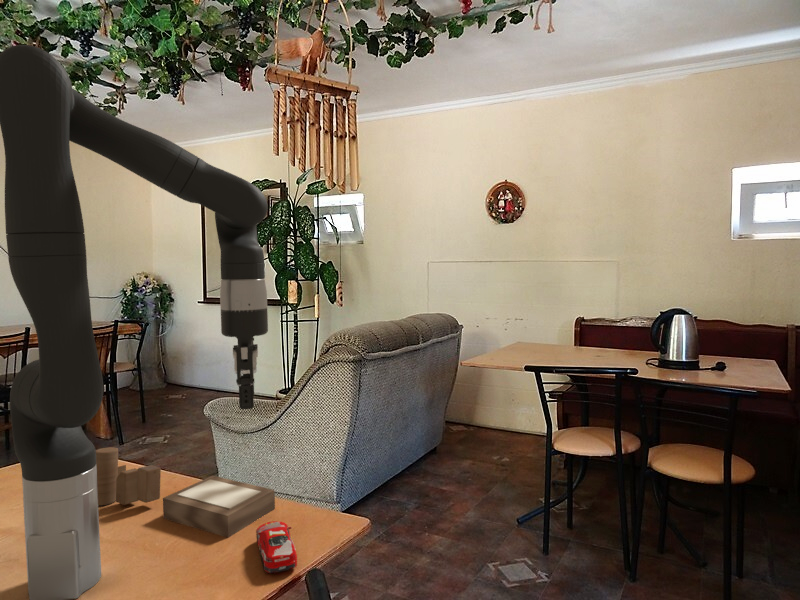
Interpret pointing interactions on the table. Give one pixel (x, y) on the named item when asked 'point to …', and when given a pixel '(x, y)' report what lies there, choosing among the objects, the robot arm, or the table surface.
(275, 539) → the race car
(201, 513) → the picture frame
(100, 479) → the wooden block set
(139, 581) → the table surface
